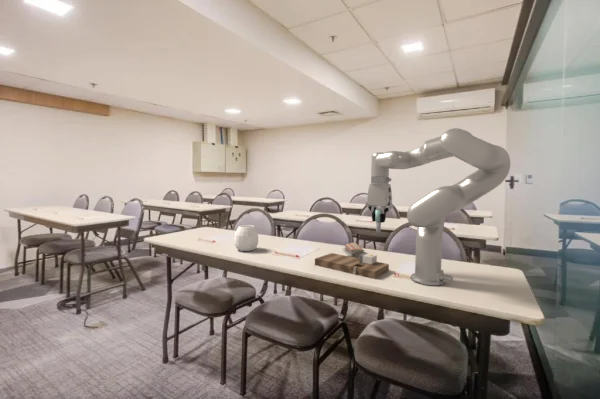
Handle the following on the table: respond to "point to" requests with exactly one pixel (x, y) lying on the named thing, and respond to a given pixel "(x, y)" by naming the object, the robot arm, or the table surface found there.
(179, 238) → the table surface
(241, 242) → the white faceted vase
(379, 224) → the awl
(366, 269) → the subfloor panel
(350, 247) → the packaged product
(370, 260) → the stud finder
